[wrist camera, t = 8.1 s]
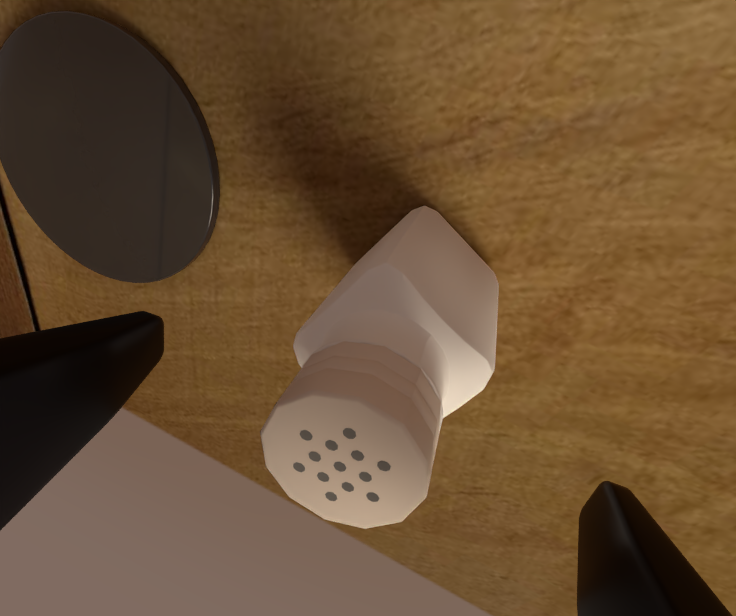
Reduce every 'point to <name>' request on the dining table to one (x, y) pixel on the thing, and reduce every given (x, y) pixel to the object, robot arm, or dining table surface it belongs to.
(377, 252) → the salt shaker
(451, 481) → the dining table surface
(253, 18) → the dining table surface
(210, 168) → the coaster
